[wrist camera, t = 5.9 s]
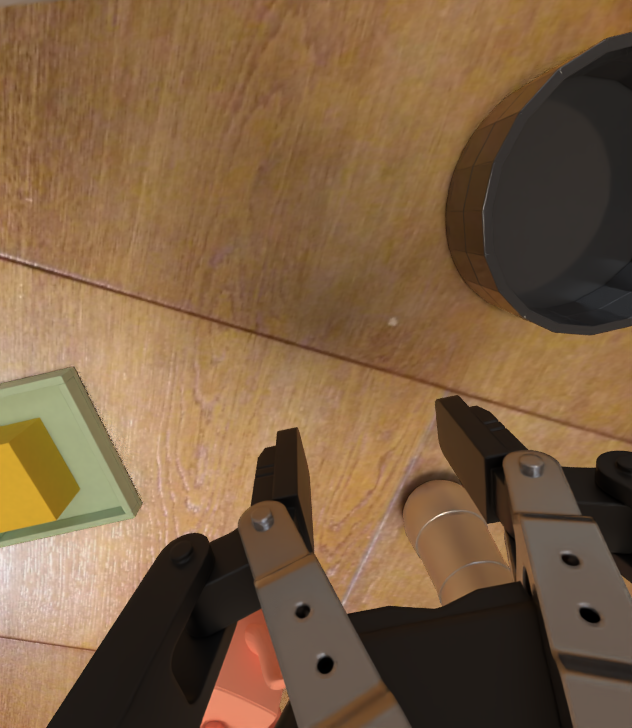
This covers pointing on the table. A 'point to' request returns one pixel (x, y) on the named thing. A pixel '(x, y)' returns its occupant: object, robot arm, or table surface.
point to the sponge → (32, 477)
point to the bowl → (552, 197)
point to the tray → (71, 453)
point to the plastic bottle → (452, 540)
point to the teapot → (247, 680)
